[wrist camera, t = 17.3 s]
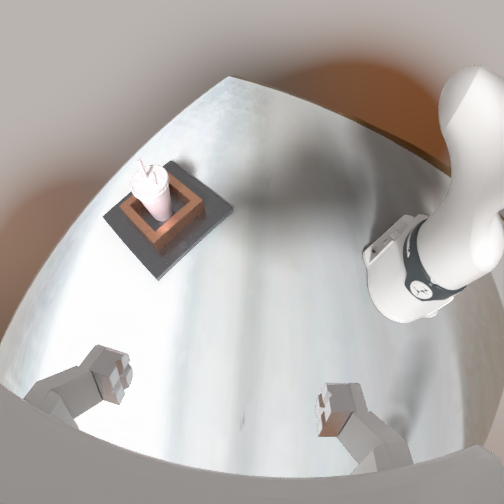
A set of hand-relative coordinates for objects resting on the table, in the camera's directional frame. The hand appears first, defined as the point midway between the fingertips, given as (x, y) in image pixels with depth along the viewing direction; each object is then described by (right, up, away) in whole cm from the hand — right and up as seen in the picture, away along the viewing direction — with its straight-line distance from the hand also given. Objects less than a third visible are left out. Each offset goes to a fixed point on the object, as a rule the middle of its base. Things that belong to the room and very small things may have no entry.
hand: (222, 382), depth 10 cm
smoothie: (-15, +12, +38) cm, 43 cm away
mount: (-15, +12, +39) cm, 44 cm away
